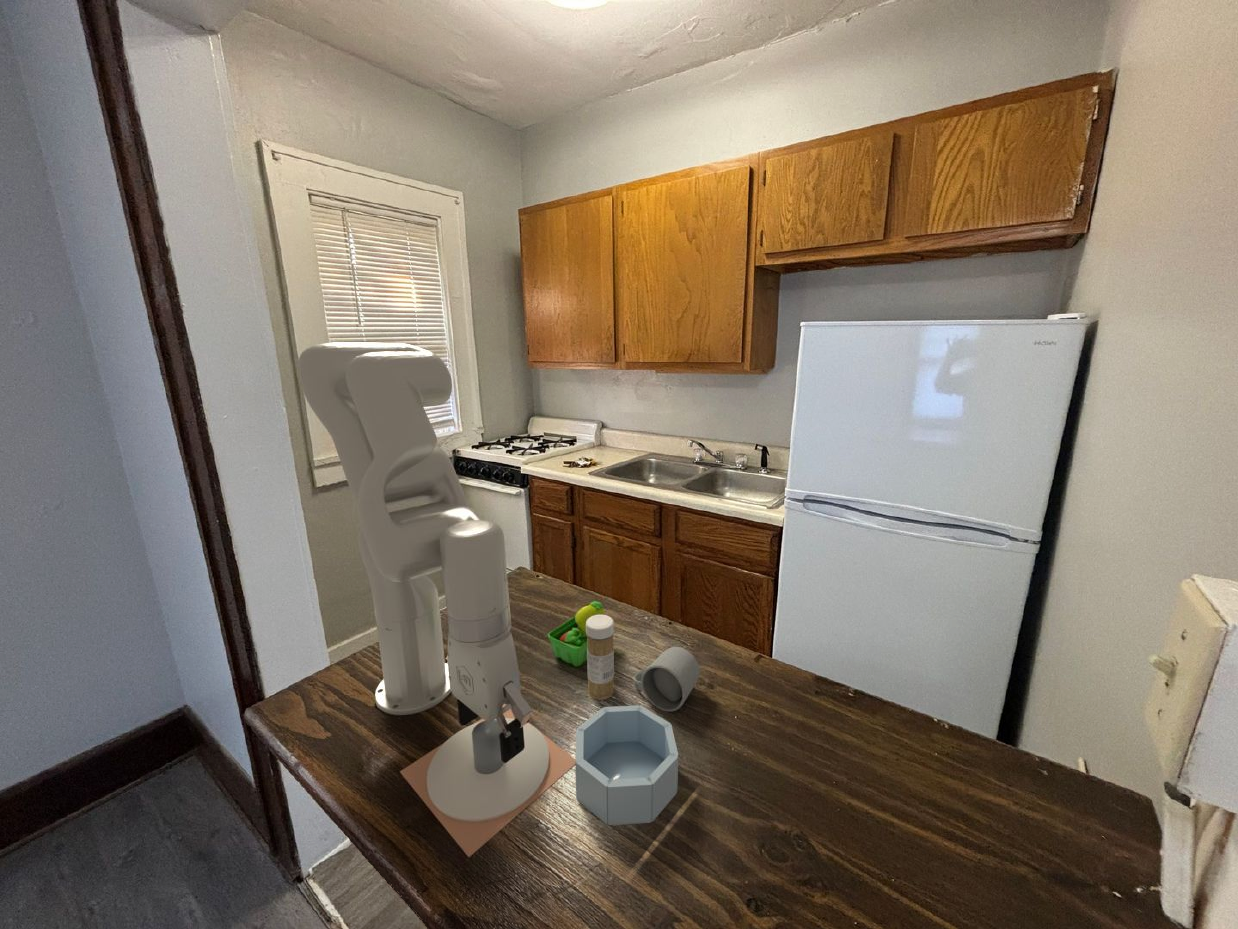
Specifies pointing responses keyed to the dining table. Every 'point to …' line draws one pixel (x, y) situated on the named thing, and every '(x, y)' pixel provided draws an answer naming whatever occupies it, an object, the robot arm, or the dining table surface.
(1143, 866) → the dining table surface
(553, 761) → the mat
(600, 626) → the spice bottle
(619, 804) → the bowl
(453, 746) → the lid
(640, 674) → the ceramic mug
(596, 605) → the fruit basket
